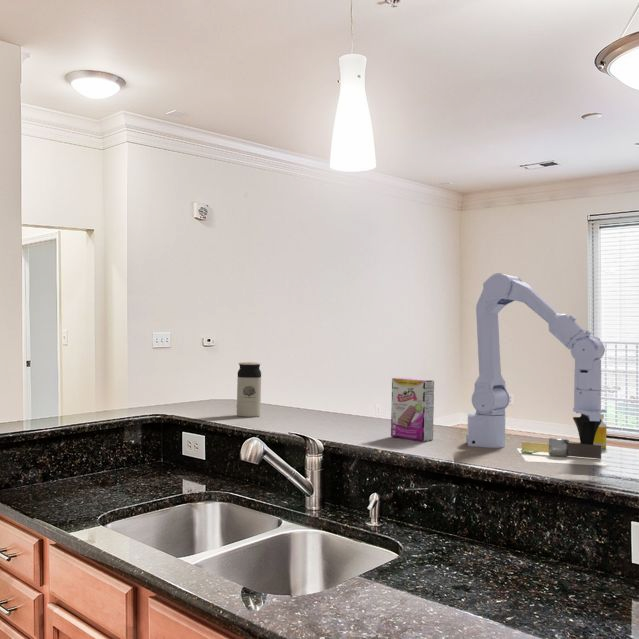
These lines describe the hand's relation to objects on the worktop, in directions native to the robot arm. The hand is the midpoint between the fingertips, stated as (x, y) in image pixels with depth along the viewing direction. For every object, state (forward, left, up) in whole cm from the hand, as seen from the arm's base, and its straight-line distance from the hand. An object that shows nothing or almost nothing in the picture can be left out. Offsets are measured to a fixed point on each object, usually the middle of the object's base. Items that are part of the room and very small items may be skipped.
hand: (586, 448), depth 148 cm
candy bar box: (-41, +22, -3) cm, 46 cm away
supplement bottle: (+5, +16, -3) cm, 17 cm away
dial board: (-6, 0, -3) cm, 7 cm away
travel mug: (-97, +54, -3) cm, 111 cm away
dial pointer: (-6, 0, -2) cm, 6 cm away
